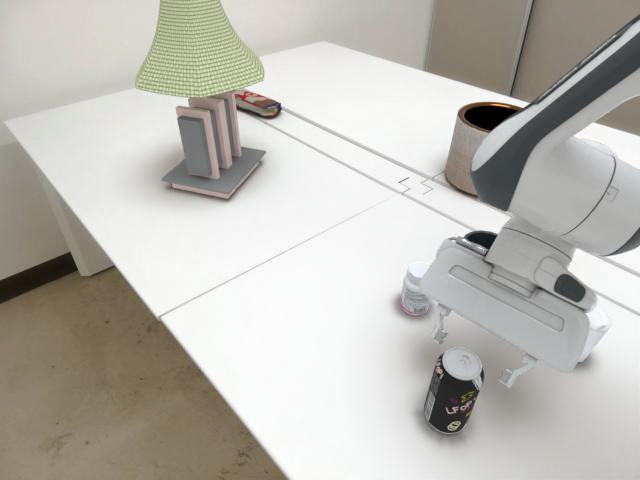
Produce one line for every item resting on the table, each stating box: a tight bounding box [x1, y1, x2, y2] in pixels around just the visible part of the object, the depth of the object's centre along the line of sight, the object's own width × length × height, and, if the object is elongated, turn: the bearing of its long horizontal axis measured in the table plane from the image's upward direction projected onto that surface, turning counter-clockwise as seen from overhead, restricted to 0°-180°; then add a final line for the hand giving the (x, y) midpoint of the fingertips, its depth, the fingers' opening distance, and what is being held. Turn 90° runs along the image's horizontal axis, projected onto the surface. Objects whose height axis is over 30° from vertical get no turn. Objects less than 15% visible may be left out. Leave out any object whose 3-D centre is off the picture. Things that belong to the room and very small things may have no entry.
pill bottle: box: [399, 260, 432, 316], centre depth 74 cm, size 5×5×8 cm
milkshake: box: [577, 305, 613, 363], centre depth 66 cm, size 4×5×10 cm
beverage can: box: [423, 346, 485, 435], centre depth 57 cm, size 6×6×12 cm
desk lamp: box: [134, 0, 267, 200], centre depth 97 cm, size 26×28×40 cm
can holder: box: [462, 229, 499, 262], centre depth 83 cm, size 9×9×5 cm
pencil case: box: [234, 89, 283, 117], centre depth 137 cm, size 11×20×5 cm, turn 40°
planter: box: [444, 101, 523, 197], centre depth 103 cm, size 18×18×16 cm
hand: (468, 362), depth 57 cm, fingers open, 8 cm apart
